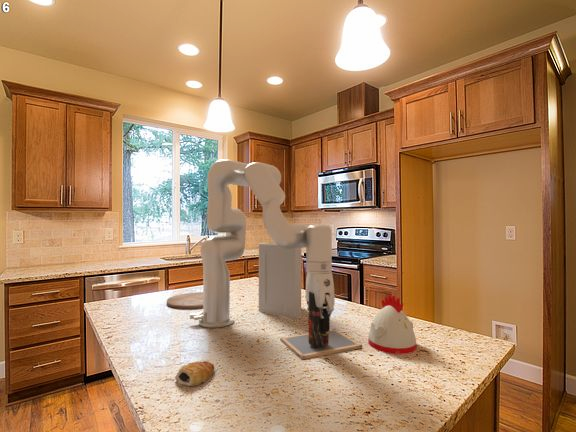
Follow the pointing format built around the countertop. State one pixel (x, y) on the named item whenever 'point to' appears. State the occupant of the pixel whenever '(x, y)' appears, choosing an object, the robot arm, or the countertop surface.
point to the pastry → (195, 373)
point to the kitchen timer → (392, 329)
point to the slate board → (305, 350)
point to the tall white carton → (280, 280)
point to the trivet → (186, 301)
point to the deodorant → (316, 325)
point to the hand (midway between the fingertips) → (318, 327)
